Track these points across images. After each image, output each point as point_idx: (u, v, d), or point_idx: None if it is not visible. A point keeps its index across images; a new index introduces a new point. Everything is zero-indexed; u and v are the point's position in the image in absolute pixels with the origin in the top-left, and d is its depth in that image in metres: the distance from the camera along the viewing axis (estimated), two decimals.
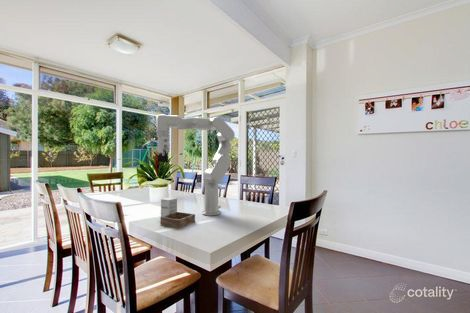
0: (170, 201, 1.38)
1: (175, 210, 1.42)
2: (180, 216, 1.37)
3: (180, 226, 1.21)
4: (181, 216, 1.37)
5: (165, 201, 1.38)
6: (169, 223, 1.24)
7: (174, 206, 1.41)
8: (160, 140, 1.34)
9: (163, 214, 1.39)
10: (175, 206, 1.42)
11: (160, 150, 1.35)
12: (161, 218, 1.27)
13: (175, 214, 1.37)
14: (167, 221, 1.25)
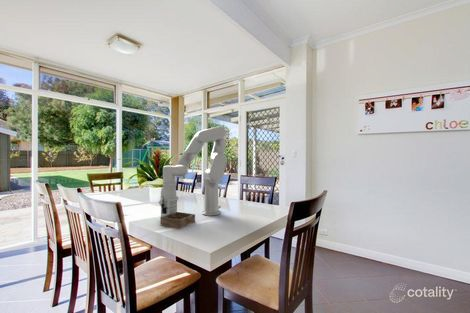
0: (170, 201, 1.38)
1: (175, 210, 1.42)
2: (180, 216, 1.37)
3: (180, 226, 1.21)
4: (181, 216, 1.37)
5: None
6: (169, 223, 1.24)
7: (174, 206, 1.41)
8: (174, 190, 1.43)
9: (163, 214, 1.39)
10: (175, 206, 1.42)
11: None
12: (161, 218, 1.27)
13: (175, 214, 1.37)
14: (167, 221, 1.25)
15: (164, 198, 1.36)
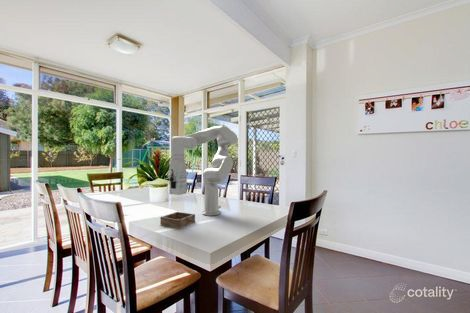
0: (179, 175, 1.26)
1: (185, 185, 1.30)
2: (180, 216, 1.37)
3: (180, 226, 1.21)
4: (181, 216, 1.37)
5: None
6: (169, 223, 1.24)
7: (183, 181, 1.29)
8: (184, 164, 1.31)
9: (172, 189, 1.28)
10: (185, 181, 1.30)
11: None
12: (161, 218, 1.27)
13: (175, 214, 1.37)
14: (167, 221, 1.25)
15: (173, 171, 1.25)
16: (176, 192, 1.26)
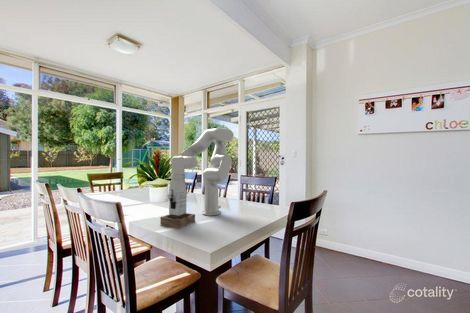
0: (179, 195, 1.26)
1: (184, 205, 1.30)
2: (180, 216, 1.37)
3: (180, 226, 1.21)
4: (181, 216, 1.37)
5: None
6: (169, 223, 1.24)
7: (183, 201, 1.29)
8: (184, 183, 1.31)
9: (171, 209, 1.27)
10: (184, 201, 1.30)
11: None
12: (161, 218, 1.27)
13: None
14: (167, 221, 1.25)
15: (173, 192, 1.25)
16: (175, 213, 1.26)
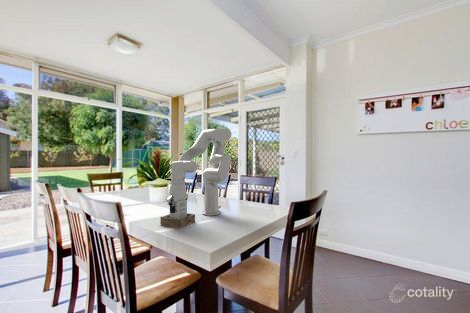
0: (180, 203, 1.26)
1: (185, 213, 1.30)
2: None
3: (180, 226, 1.21)
4: None
5: None
6: (169, 223, 1.24)
7: (184, 209, 1.29)
8: (184, 188, 1.31)
9: (172, 217, 1.28)
10: (185, 208, 1.30)
11: (183, 198, 1.31)
12: (161, 218, 1.27)
13: None
14: (167, 221, 1.25)
15: (173, 197, 1.25)
16: None
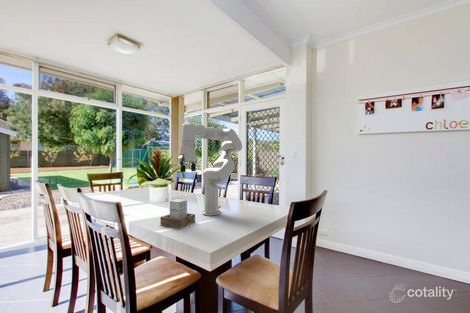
0: (180, 203, 1.26)
1: (185, 213, 1.30)
2: None
3: (180, 226, 1.21)
4: None
5: (174, 203, 1.27)
6: (169, 223, 1.24)
7: (184, 209, 1.29)
8: (194, 149, 1.37)
9: (172, 217, 1.28)
10: (185, 208, 1.30)
11: (193, 159, 1.36)
12: (161, 218, 1.27)
13: None
14: (167, 221, 1.25)
15: (184, 156, 1.30)
16: None
